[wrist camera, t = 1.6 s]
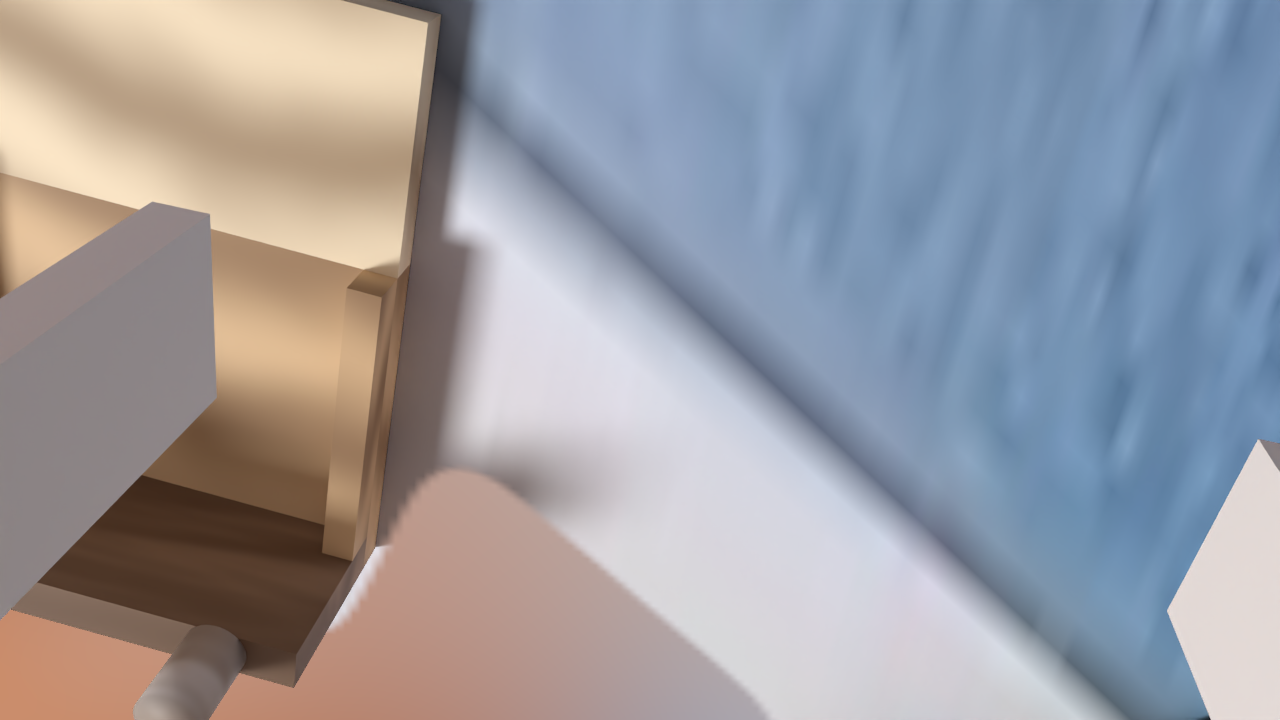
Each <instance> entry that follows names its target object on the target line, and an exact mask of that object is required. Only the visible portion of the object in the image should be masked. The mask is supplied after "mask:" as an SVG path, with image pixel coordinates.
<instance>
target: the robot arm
mask: <svg viewBox="0 0 1280 720" xmlns="http://www.w3.org/2000/svg"><path fill="white" fill-rule="evenodd" d="M216 398H217V389H216V362H215V335H214V307H213V280H212V253H211V225H210V214H208V213H203V212H199V211H194V210H189V209H185V208H180V207H175V206H171V205H166V204H161V203H157V202H151V203H149V204H148V205H146V206H144V207H143V208H141V209H140V210H138V211H137V212H135V213H133V214H132V215H130V216H129V217H127V218H126V219H124V220H123V221H121V222H119V223H118V224H116V225H115V226H113V227H112V228H110V229H108V230H107V231H105V232H104V233H102V234H101V235H99V236H97V237H96V238H94V239H93V240H91V241H90V242H88V243H86V244H85V245H83V246H82V247H80V248H79V249H77V250H75V251H74V252H72V253H71V254H69V255H68V256H66V257H65V258H63V259H61V260H60V261H58V262H57V263H55V264H54V265H52V266H50V267H49V268H47V269H46V270H44V271H43V272H41V273H39V274H38V275H36V276H35V277H33V278H32V279H30V280H28V281H27V282H25V283H24V284H22V285H21V286H19V287H17V288H16V289H14V290H13V291H11V292H10V293H8V294H7V295H5V296H3V297H2V298H0V620H1V619H2V617H4V616H5V615H6V614H7V613H8V611H9V610H10V609H11V608H12V607H13V606H14V605H15V604H16V603H17V602H18V601H19V600H20V599H21V598H22V597H23V596H24V595H25V594H26V593H27V592H28V591H29V590H30V589H31V588H32V587H33V586H34V585H35V584H36V583H37V582H38V581H39V580H40V579H41V578H42V577H43V576H44V575H45V574H46V572H47V571H48V570H49V569H50V568H51V567H52V566H53V565H54V564H55V563H56V562H57V561H58V560H59V559H60V558H61V557H62V556H63V555H64V554H65V553H66V552H67V551H68V550H69V549H70V548H71V547H72V546H73V545H74V544H75V543H76V542H77V541H78V540H79V539H80V538H81V537H82V536H83V535H84V534H85V532H86V531H87V530H88V529H89V528H90V527H91V526H92V525H93V524H94V523H95V522H96V521H97V520H98V519H99V518H100V517H101V516H102V515H103V514H104V513H105V512H106V511H107V510H108V509H109V508H110V507H111V506H112V505H113V504H114V503H115V502H116V501H117V500H118V499H119V498H120V497H121V496H122V495H123V493H124V492H125V491H126V490H127V489H128V488H129V487H130V486H131V485H132V484H133V483H134V482H135V481H136V480H137V479H138V478H139V477H140V476H141V475H142V474H143V473H144V472H145V471H146V470H147V469H148V468H149V467H150V466H151V465H152V464H153V463H154V462H155V461H156V460H157V459H158V458H159V457H160V456H161V455H162V453H163V452H164V451H165V450H166V449H167V448H168V447H169V446H170V445H171V444H172V443H173V442H174V441H175V440H176V439H177V438H178V437H179V436H180V435H181V434H182V433H183V432H184V431H185V430H186V429H187V428H188V427H189V426H190V425H191V424H192V423H193V422H194V421H195V420H196V419H197V418H198V417H199V416H200V414H201V413H202V412H203V411H204V410H205V409H206V408H207V407H208V406H209V405H210V404H211V403H212V402H213V401H214V400H215V399H216ZM1167 612H1168V614H1169V617H1170V619H1171V622H1172V624H1173V627H1174V629H1175V632H1176V634H1177V637H1178V639H1179V642H1180V644H1181V647H1182V649H1183V651H1184V654H1185V656H1186V659H1187V661H1188V664H1189V666H1190V669H1191V671H1192V674H1193V676H1194V679H1195V681H1196V684H1197V686H1198V689H1199V691H1200V694H1201V696H1202V699H1203V701H1204V704H1205V706H1206V709H1207V711H1208V714H1209V716H1210V719H1211V720H1280V444H1279V443H1275V442H1270V441H1265V440H1261V439H1258V441H1257V443H1256V444H1255V446H1254V448H1253V450H1252V452H1251V454H1250V456H1249V458H1248V459H1247V461H1246V463H1245V465H1244V467H1243V469H1242V471H1241V473H1240V474H1239V476H1238V478H1237V480H1236V482H1235V484H1234V486H1233V488H1232V490H1231V491H1230V493H1229V495H1228V497H1227V499H1226V501H1225V503H1224V505H1223V506H1222V508H1221V510H1220V512H1219V514H1218V516H1217V518H1216V520H1215V522H1214V523H1213V525H1212V527H1211V529H1210V531H1209V533H1208V535H1207V537H1206V538H1205V540H1204V542H1203V544H1202V546H1201V548H1200V550H1199V552H1198V554H1197V555H1196V557H1195V559H1194V561H1193V563H1192V565H1191V567H1190V569H1189V570H1188V572H1187V574H1186V576H1185V578H1184V580H1183V582H1182V584H1181V585H1180V587H1179V589H1178V591H1177V593H1176V595H1175V597H1174V599H1173V601H1172V602H1171V604H1170V606H1169V608H1168V610H1167Z"/></svg>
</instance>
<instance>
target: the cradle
mask: <svg viewBox="0 0 1280 720" xmlns="http://www.w3.org/2000/svg"><path fill="white" fill-rule="evenodd" d="M440 21H441V14H438V13H434V12H430V11H426V10H422V9H418V8H415V7H411V6H407V5H403V4H399V3H395V2H392V1H388V0H0V298H2V297H3V296H5V295H7V294H8V293H10V292H11V291H13V290H14V289H16V288H17V287H19V286H21V285H22V284H24V283H25V282H27V281H28V280H30V279H32V278H33V277H35V276H36V275H38V274H39V273H41V272H43V271H44V270H46V269H47V268H49V267H50V266H52V265H54V264H55V263H57V262H58V261H60V260H61V259H63V258H65V257H66V256H68V255H69V254H71V253H72V252H74V251H75V250H77V249H79V248H80V247H82V246H83V245H85V244H86V243H88V242H90V241H91V240H93V239H94V238H96V237H97V236H99V235H101V234H102V233H104V232H105V231H107V230H108V229H110V228H112V227H113V226H115V225H116V224H118V223H119V222H121V221H123V220H124V219H126V218H127V217H129V216H130V215H132V214H133V213H135V212H137V211H138V210H140V209H141V208H143V207H144V206H146V205H148V204H149V203H151V202H157V203H161V204H166V205H171V206H175V207H180V208H185V209H189V210H194V211H199V212H203V213H208V214H210V225H211V253H212V280H213V307H214V335H215V362H216V389H217V398H216V399H215V400H214V401H213V402H212V403H211V404H210V405H209V406H208V407H207V408H206V409H205V410H204V411H203V412H202V413H201V414H200V416H199V417H198V418H197V419H196V420H195V421H194V422H193V423H192V424H191V425H190V426H189V427H188V428H187V429H186V430H185V431H184V432H183V433H182V434H181V435H180V436H179V437H178V438H177V439H176V440H175V441H174V442H173V443H172V444H171V445H170V446H169V447H168V448H167V449H166V450H165V451H164V452H163V453H162V455H161V456H160V457H159V458H158V459H157V460H156V461H155V462H154V463H153V464H152V465H151V466H150V467H149V468H148V469H147V470H146V471H145V472H144V473H143V474H142V475H141V476H140V477H139V478H138V479H137V480H136V481H135V482H134V483H133V484H132V485H131V486H130V487H129V488H128V489H127V490H126V491H125V492H124V493H123V495H122V496H121V497H120V498H119V499H118V500H117V501H116V502H115V503H114V504H113V505H112V506H111V507H110V508H109V509H108V510H107V511H106V512H105V513H104V514H103V515H102V516H101V517H100V518H99V519H98V520H97V521H96V522H95V523H94V524H93V525H92V526H91V527H90V528H89V529H88V530H87V531H86V532H85V534H84V535H83V536H82V537H81V538H80V539H79V540H78V541H77V542H76V543H75V544H74V545H73V546H72V547H71V548H70V549H69V550H68V551H67V552H66V553H65V554H64V555H63V556H62V557H61V558H60V559H59V560H58V561H57V562H56V563H55V564H54V565H53V566H52V567H51V568H50V569H49V570H48V571H47V572H46V574H45V575H44V576H43V577H42V578H41V579H40V580H39V581H38V582H37V583H36V584H35V585H34V586H33V587H32V588H31V589H30V590H29V591H28V592H27V593H26V594H25V595H24V596H23V597H22V598H21V599H20V600H19V601H18V602H17V603H16V604H15V605H14V606H13V607H12V608H11V610H15V611H18V612H22V613H25V614H29V615H32V616H36V617H40V618H43V619H47V620H51V621H55V622H58V623H61V624H65V625H69V626H72V627H76V628H79V629H83V630H87V631H90V632H94V633H97V634H101V635H105V636H108V637H112V638H116V639H119V640H123V641H127V642H130V643H134V644H137V645H141V646H144V647H148V648H152V649H156V650H159V651H162V652H166V653H170V654H172V655H171V657H170V658H169V659H168V661H167V662H166V663H165V665H164V666H163V668H162V669H161V670H160V672H159V673H158V674H157V676H156V677H155V678H154V680H153V681H152V682H151V684H150V685H149V686H148V688H147V689H146V690H145V692H144V693H143V695H142V696H141V697H140V699H139V700H138V701H137V703H136V704H135V706H134V709H133V714H134V719H135V720H209V718H210V717H211V715H212V714H213V712H214V711H215V709H216V708H217V706H218V704H219V703H220V701H221V700H222V698H223V697H224V695H225V694H226V692H227V691H228V689H229V687H230V686H231V684H232V683H233V681H234V680H235V678H236V676H237V675H238V673H242V674H246V675H249V676H253V677H256V678H260V679H264V680H267V681H271V682H274V683H278V684H282V685H285V686H289V687H292V688H294V687H295V685H296V683H297V681H298V680H299V678H300V676H301V675H302V673H303V671H304V669H305V668H306V666H307V664H308V662H309V661H310V659H311V657H312V655H313V654H314V652H315V650H316V649H317V647H318V645H319V643H320V642H321V640H322V638H323V637H324V635H325V633H326V631H327V630H328V628H329V626H330V625H331V623H332V621H333V619H334V618H335V616H336V614H337V612H338V611H339V609H340V607H341V606H342V604H343V602H344V600H345V599H346V597H347V595H348V594H349V592H350V590H351V588H352V587H353V585H354V583H355V581H356V580H357V578H358V576H359V575H360V573H361V571H362V569H363V568H364V566H365V564H366V562H367V561H368V559H369V557H370V556H371V554H372V552H373V550H374V549H375V544H376V536H377V528H378V520H379V512H380V504H381V496H382V488H383V480H384V471H385V463H386V455H387V447H388V439H389V431H390V423H391V415H392V407H393V399H394V391H395V383H396V375H397V367H398V359H399V351H400V343H401V335H402V327H403V319H404V311H405V303H406V295H407V287H408V278H409V270H410V262H411V254H412V246H413V238H414V230H415V222H416V214H417V206H418V198H419V190H420V182H421V174H422V166H423V158H424V150H425V142H426V134H427V126H428V118H429V110H430V102H431V93H432V85H433V77H434V69H435V61H436V53H437V45H438V37H439V29H440Z"/></svg>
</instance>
